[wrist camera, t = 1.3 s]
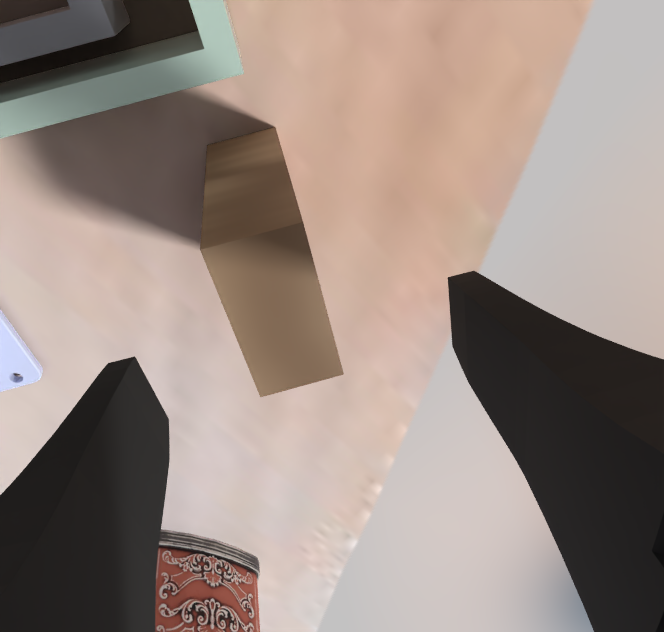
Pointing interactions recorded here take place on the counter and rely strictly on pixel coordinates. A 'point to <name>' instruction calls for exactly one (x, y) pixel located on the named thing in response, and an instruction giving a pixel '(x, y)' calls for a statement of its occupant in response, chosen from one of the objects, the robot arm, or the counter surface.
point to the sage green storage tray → (108, 62)
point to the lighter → (205, 586)
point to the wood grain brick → (265, 264)
